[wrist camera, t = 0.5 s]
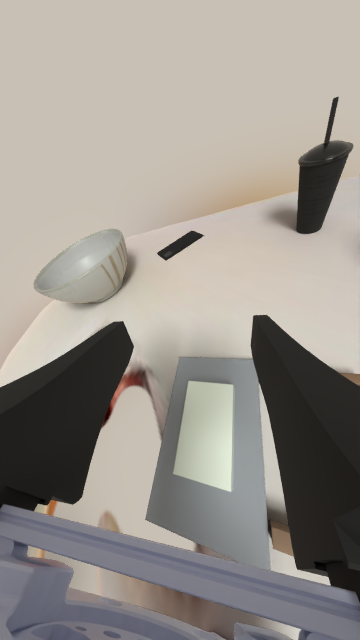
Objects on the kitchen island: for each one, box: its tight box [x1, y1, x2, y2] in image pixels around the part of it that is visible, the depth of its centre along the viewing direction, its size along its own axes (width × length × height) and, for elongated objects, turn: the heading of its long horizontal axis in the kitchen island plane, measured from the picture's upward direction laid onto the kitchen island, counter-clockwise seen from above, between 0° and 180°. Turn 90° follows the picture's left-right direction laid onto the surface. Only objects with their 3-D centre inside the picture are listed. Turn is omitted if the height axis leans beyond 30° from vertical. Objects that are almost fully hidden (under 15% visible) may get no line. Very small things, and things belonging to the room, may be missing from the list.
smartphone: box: [157, 231, 204, 260], centre depth 57 cm, size 7×1×15 cm
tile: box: [173, 381, 235, 492], centre depth 21 cm, size 10×6×2 cm, turn 168°
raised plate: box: [145, 357, 270, 571], centre depth 22 cm, size 19×12×2 cm, turn 168°
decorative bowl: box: [34, 229, 127, 303], centre depth 52 cm, size 27×27×12 cm
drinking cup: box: [296, 97, 353, 234], centre depth 34 cm, size 8×8×20 cm
